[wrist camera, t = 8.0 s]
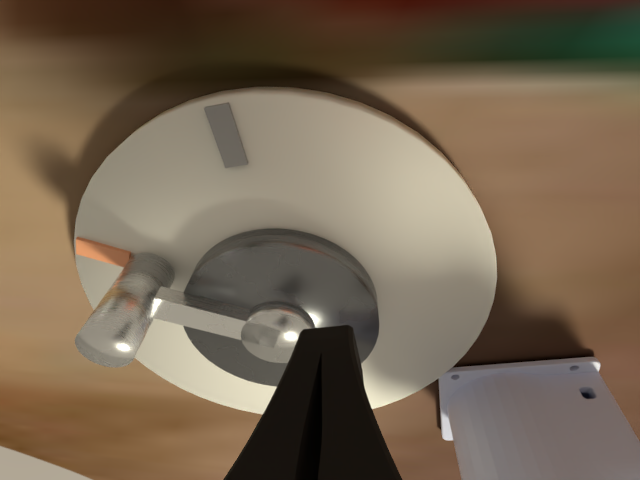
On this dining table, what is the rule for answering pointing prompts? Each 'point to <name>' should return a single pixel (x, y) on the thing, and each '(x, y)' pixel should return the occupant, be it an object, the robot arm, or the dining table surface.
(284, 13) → the dining table surface
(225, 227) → the dial plate
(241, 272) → the dial
